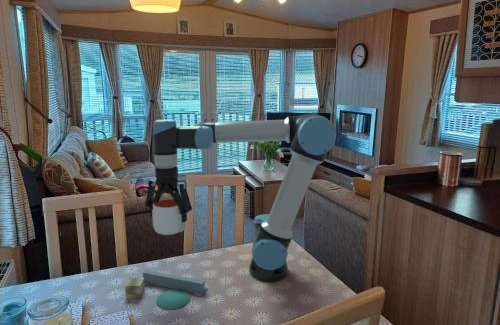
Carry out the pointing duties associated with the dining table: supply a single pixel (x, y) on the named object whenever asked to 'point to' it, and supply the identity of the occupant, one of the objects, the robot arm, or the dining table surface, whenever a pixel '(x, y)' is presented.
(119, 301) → the dining table surface
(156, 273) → the rail
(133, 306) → the dining table surface
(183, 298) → the coaster
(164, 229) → the cup
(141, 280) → the oak block
